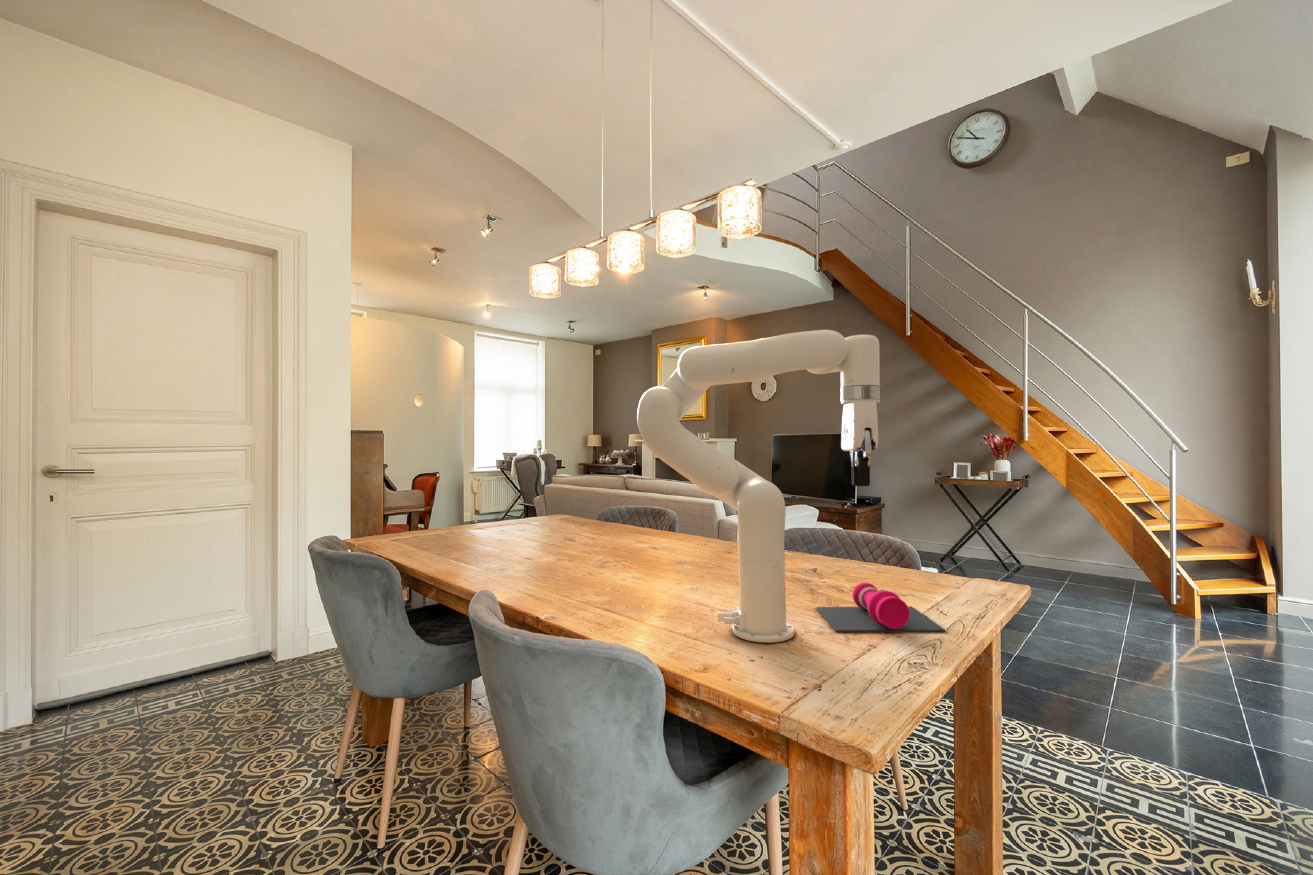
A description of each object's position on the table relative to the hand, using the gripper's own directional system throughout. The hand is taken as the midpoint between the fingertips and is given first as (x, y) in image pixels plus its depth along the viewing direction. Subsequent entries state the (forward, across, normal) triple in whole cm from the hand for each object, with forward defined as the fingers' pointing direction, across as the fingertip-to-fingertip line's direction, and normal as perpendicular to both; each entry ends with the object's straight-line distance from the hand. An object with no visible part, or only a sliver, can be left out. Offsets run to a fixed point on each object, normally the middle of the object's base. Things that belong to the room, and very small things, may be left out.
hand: (860, 485), depth 110 cm
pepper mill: (+26, 0, +6) cm, 27 cm away
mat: (+30, -9, +6) cm, 32 cm away
